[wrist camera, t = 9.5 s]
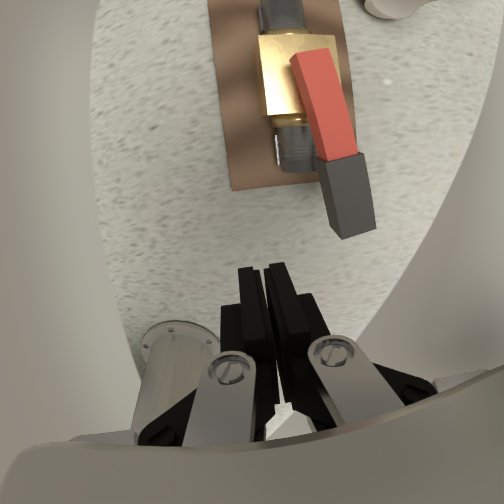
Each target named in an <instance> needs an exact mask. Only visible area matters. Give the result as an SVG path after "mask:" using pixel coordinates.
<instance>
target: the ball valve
mask: <svg viewBox="0 0 504 504" xmlns="http://www.w3.org/2000/svg"><path fill="white" fill-rule="evenodd" d="M260 4H261V5H258V8H257V19H258V26H259V33H260V35H258V37H257V40H256V43H255V46H254V49H253V52H252V55H253V62H254V70H255V78H256V86H257V94H258V102H259V110H260V117H261V116H271V118H272V127H273V128H277V133H278V134H272V137H273V146H274V156H275V163H276V164H277V165H281V171H282V172H286V173H309V172H316V171H317V168H316V164H315V161H314V157H318V154H317V150H316V146H315V142H314V139H313V135H312V132H311V128H310V125H309V121H308V118H307V114H306V111H305V108H304V104H303V101H302V98H301V95H300V91H299V88H298V85H297V82H296V79H295V76H294V75H293V71H292V67H291V64H290V61H289V59H290V58H291V57H292V56H293V55H294V54H295V53H298V52H304V51H309V50H316V49H322V48H329V51H330V53H331V56H332V59H333V62H334V65H335V68H336V72H337V75H338V78H339V81H340V84H341V78H340V70H339V62H338V55H337V48H336V42H335V36H334V35H317V34H312V32H311V31H310V30H308V29H307V25H306V19H305V13H304V8H303V2H302V0H260ZM341 88H342V86H341Z"/></svg>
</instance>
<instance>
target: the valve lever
mask: <svg viewBox="0 0 504 504" xmlns="http://www.w3.org/2000/svg"><path fill="white" fill-rule="evenodd" d="M289 61H290V64H291V67H292V71H293V75H294V76H295V79H296V82H297V85H298V88H299V91H300V95H301V98H302V101H303V104H304V108H305V111H306V114H307V118H308V121H309V125H310V128H311V132H312V135H313V139H314V142H315V146H316V150H317V154H318V157H314V161H315V164H316V168H317V172H318V176H319V180H320V184H321V189H322V193H323V197H324V201H325V206H326V210H327V215H328V219H329V224H330V227H331V228H332V229H333V230H334V231H335V232H336V234H337V235H338V236H339V237H340V238H341V239H342V240H343V239H346V238H349V237H352V236H356V235H359V234H362V233H365V232H368V231H371V230H374V229H376V222H375V215H374V208H373V201H372V195H371V189H370V183H369V178H368V172H367V167H366V162H365V157H364V153H361V152H358V150H357V145H356V141H355V137H354V132H353V128H352V124H351V120H350V117H349V113H348V109H347V105H346V102H345V98H344V95H343V91H342V88H341V84H340V81H339V78H338V75H337V72H336V68H335V65H334V62H333V59H332V56H331V53H330V51H329V48H322V49H316V50H309V51H304V52H298V53H295V54H294V55H293V56H292V57H291V58H290V59H289Z"/></svg>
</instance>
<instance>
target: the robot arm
mask: <svg viewBox="0 0 504 504" xmlns="http://www.w3.org/2000/svg"><path fill="white" fill-rule="evenodd" d="M238 276H239V289H240V302H241V303H239V304H232V305H224V306H221V325H220V342H219V340H218V339H217V338H216V337H215V336H214V335H213V334H212V333H210V332H209V331H207V330H206V329H204V328H202V327H200V326H197V325H195V324H191V323H187V322H178V321H175V322H165V323H161V324H159V325H156V326H154V327H153V328H151V329H150V330H149V331H148V332H147V333H146V334H145V336H144V338H143V340H142V343H141V354H142V358H143V360H144V362H145V363H146V368H145V372H144V376H143V380H142V384H141V387H140V392H139V396H138V400H137V404H136V408H135V412H134V416H133V422H132V426H131V430H124V431H117V432H109V433H101V434H90V435H80V436H76V437H74V438H72V439H71V440H69V441H67V442H51V443H46V444H40V445H36V446H32V447H29V448H27V449H25V450H23V451H21V452H20V453H18V455H17V456H16V457H15V458H14V459H13V461H12V462H11V464H10V466H9V468H8V469H7V472H6V474H5V476H4V478H3V481H2V484H1V486H0V504H504V365H502V366H499V367H496V368H494V369H491V370H487V369H481V370H476V371H471V372H467V373H462V374H458V375H452V376H447V377H442V378H436V379H434V380H433V382H432V383H430V382H428V381H426V380H424V379H422V378H419V377H415V376H412V375H409V374H406V373H403V372H399V371H396V370H393V369H390V368H387V367H384V366H381V365H378V364H375V363H372V362H371V361H370V360H369V359H368V357H367V356H366V355H365V354H364V352H363V351H362V350H361V348H360V347H359V346H358V345H357V343H355V342H354V341H353V340H352V339H350V338H348V337H345V336H341V335H331V334H330V332H329V330H328V328H327V325H326V323H325V321H324V319H323V317H322V315H321V313H320V310H319V308H318V306H317V304H316V302H315V300H314V298H313V296H312V294H311V293H306V294H300V295H297V294H296V291H295V289H294V286H293V283H292V281H291V278H290V276H289V273H288V271H287V268H286V266H285V263H284V262H281V263H274V264H269V268H266V269H264V278H265V287H266V296H267V304H266V299H265V294H264V290H263V285H262V281H261V276H260V271H259V270H253V266H252V267H245V268H238ZM267 305H268V308H267ZM276 361H277V365H276ZM277 366H278V371H279V376H280V381H281V386H282V391H283V396H284V400H285V403H287V402H291V404H292V408H293V411H294V410H296V411H298V412H300V413H302V414H304V415H306V418H307V422H308V424H309V426H310V428H311V431H312V433H309V434H304V435H299V436H294V437H288V438H282V439H275V440H268V441H266V423H267V422H268V421H269V420H270V419H271V418H272V417H273V416H274V415H275V406H274V405H275V404H280V398H279V387H278V376H277Z"/></svg>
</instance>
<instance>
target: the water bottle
mask: <svg viewBox="0 0 504 504" xmlns="http://www.w3.org/2000/svg"><path fill="white" fill-rule="evenodd" d="M433 1H437V0H365V3H364V7H365V9H366V10H367V11H368V12H369V13H370V14H372V15H374V16H376V17H379V18H384V19H393V20H400V19H403V18H406V17H408V16H410V15H412V14H413V13H414V12H415V11H416V10H418V9H419V8H420V7H422V6H423V5H425V4H427V3H430V2H433Z"/></svg>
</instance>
